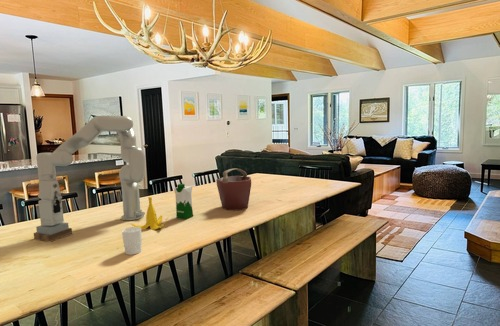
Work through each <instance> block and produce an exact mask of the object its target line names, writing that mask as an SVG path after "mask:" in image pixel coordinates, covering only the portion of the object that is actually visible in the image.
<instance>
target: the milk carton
mask: <svg viewBox="0 0 500 326" xmlns="http://www.w3.org/2000/svg"><path fill="white" fill-rule="evenodd" d="M173 190H174V194H175V208H176V213H175V215H176V217H175V218H176V219H181V220H188V219H191V218H192V217H193V216H194V211H193V198H192V194H193V191H192V190H193V186H186V185H185V183H178V184H177V187H174V188H173Z"/></svg>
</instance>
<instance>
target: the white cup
mask: <svg viewBox="0 0 500 326" xmlns="http://www.w3.org/2000/svg"><path fill="white" fill-rule="evenodd" d="M121 235H122V242H123V243H122V244H123V247H124V253H125V255H127V256H129V255H130V256H131V255H137V254H140V253H141V252H142V251H143V250H142V249H143V248H142V244H143V243H142V240H143V239H142V238H143V237H142V229H141V228H140V227H134V226H130V227H126V228H124V229H122V231H121Z"/></svg>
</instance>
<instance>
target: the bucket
mask: <svg viewBox="0 0 500 326" xmlns="http://www.w3.org/2000/svg"><path fill="white" fill-rule="evenodd" d="M235 170H236V171H238V172H240V173H241V174H242V175H231V176H228V173H230V172H232V171H235ZM222 176H223V177H220V178H217V179H216V187H217V192H218V195H219V199H220V203H221V208H223V209H225V210H227V211H240V210H245V209H248V207H249V201H250V196H251V190H252V189H251V188H252V178H251V176H248V174H247V172H246V171H245V170H243V169H241V168H229V169H226V170H224V171H223V172H222Z"/></svg>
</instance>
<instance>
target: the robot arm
mask: <svg viewBox="0 0 500 326" xmlns="http://www.w3.org/2000/svg"><path fill="white" fill-rule="evenodd" d="M133 127H134V122H133V119H132V118H131V117H129V116H128V115H106V114H105V115H95V116H94V117H92V118H91V119H90V120H88V122H86V124H84V126H83V127H81V128H80V129H79V130H78V131H76V133H74V134H73V135H72V136H70V137H69V138H67V139H66V140H64V141H63V142H62V143H61V144H59V146H58V147H57V148H55V150H53V151H52V152H40V153H37V154H36V157H35V158H36V165H37V166H36V167H37V174H38V175H37V176H38V192H39V193H38V194H37V197H38V201H40V200H52V201H53V204H54V205H53V208H54V213H58V212H61V209H60V204H61V200H62V199H63V196H62V195H61V194H62V193H61V190H60V189H61V188H60V184H59V181H58V179H57V178H58V177H57V172H56V169H57V168H56V167H67V166H69V165H71V164H72V163H73V161H74V157H73V154H74V153H75V152H77V151H79V150H80V149H83V148H85V147H88V146H90V145H91V144H92V143H93V142H94V141H95V140H96V139H97V138H98V137H99V136H100V135H101V134H102V133H103V132H110V133H111V132H113V133H115V132H116V133H117V134H118V136H119V140H120V158H121V160H122V161H123V162H124V163H128V164H125V165H123V166H121V168H120V169H119V172H118V176H119V181H120V186H121V195H122V196H121V198H122V208H123V209H122V210H123V215H121V217H120V219H121V220H123V221H134V220H135V221H136V220H139V219H142V218H144V215H145V214H146V212H144V211H143V210H142V209H141V201H140V199H141V198H140V188H139V187H140V186H139V183H140V182H142V181H143V179H144V178H145V175H146V156H145V152H144V150H143V149H142V148H141V147H138V146H137V136H136V134H135V132H134V130H133ZM54 198H56V199H54ZM55 200H57V201H56V202H55Z"/></svg>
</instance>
